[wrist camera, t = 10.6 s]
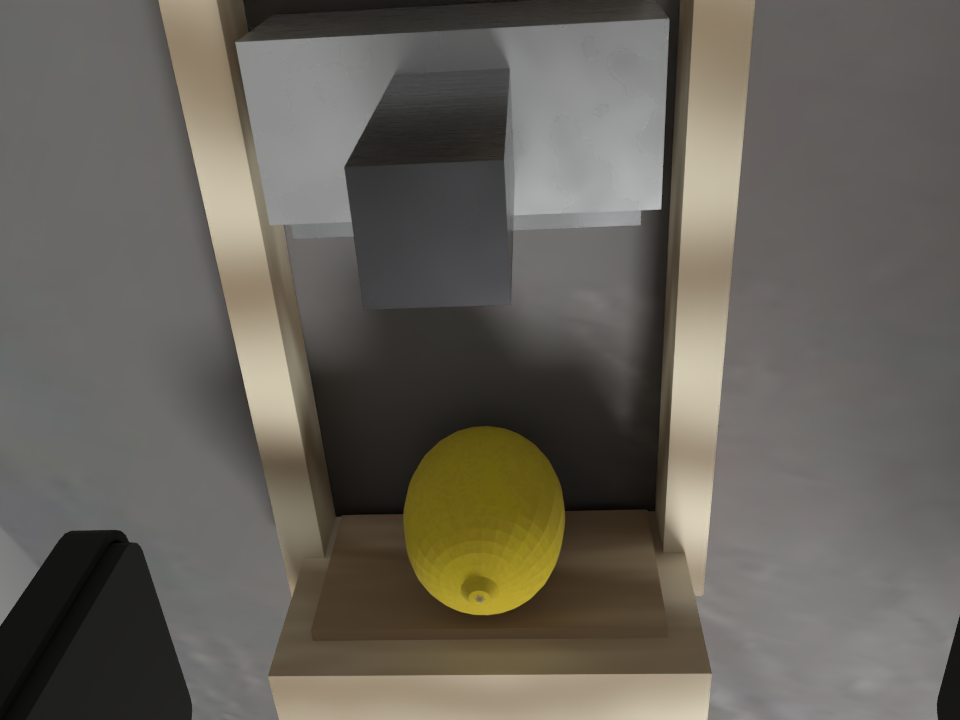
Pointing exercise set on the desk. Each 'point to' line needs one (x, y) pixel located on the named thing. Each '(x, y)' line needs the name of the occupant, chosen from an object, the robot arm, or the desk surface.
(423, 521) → the lemon
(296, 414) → the press frame
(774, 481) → the desk surface
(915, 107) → the desk surface
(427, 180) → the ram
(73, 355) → the desk surface
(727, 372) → the desk surface
